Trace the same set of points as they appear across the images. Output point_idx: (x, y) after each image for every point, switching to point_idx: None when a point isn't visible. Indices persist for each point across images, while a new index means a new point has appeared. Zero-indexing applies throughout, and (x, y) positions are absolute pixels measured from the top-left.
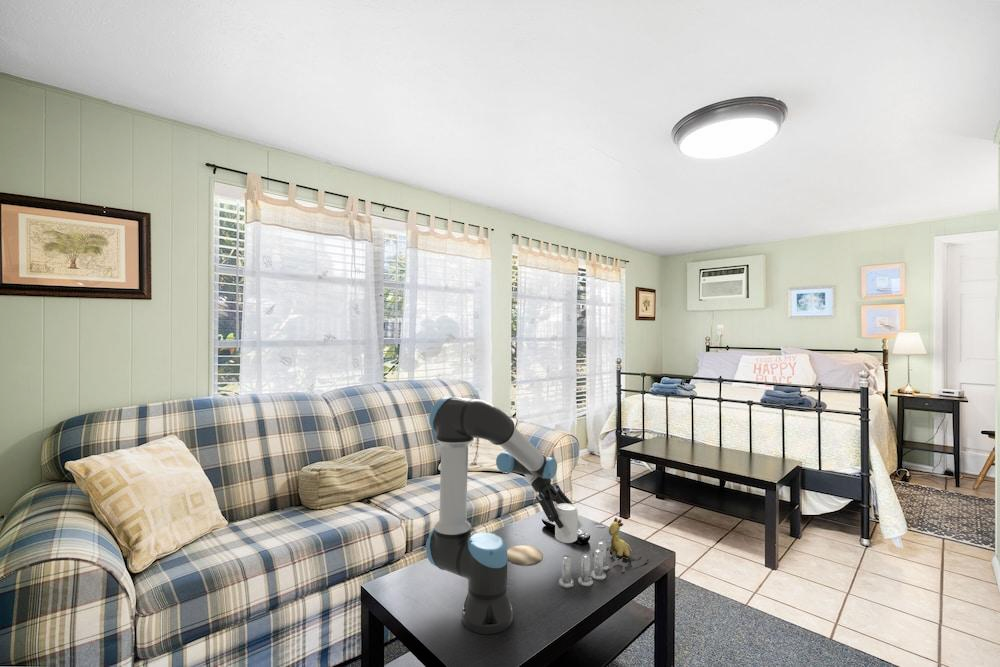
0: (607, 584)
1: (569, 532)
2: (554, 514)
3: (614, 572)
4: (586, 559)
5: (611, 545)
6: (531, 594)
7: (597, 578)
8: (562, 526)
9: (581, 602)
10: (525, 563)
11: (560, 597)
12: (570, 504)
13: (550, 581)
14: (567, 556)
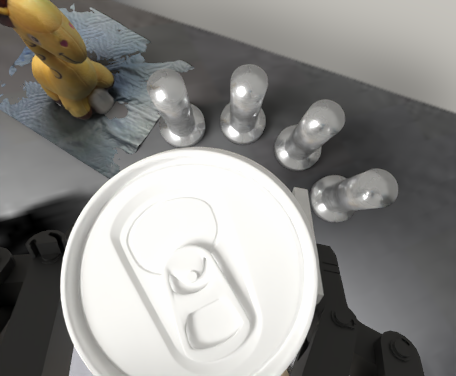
0: (272, 91)
1: (307, 196)
2: (346, 359)
3: (195, 87)
4: (341, 110)
5: (72, 100)
6: (438, 277)
7: (265, 119)
8: (326, 246)
9: (396, 133)
10: (288, 374)
11: (405, 193)
12: (72, 257)
13: (341, 249)
14: (366, 187)
